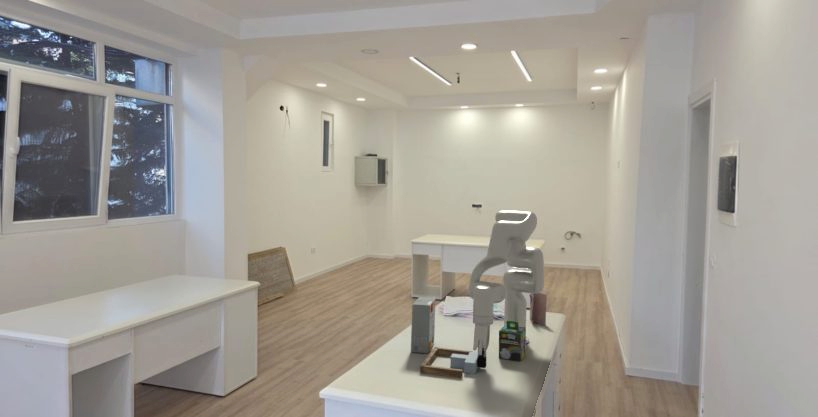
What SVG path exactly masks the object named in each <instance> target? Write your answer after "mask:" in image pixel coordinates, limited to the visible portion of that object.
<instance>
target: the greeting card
mask: <svg viewBox="0 0 818 417" xmlns="http://www.w3.org/2000/svg"><path fill="white" fill-rule="evenodd" d="M528 295H529V298H530V300H529V321H530V323H531V325H532V326H534V323H533V322H536V323H538V322H539V324H542V325H544V326H546V322H547V320H546V319H547V318H546V317H547V294H544V293H542V292H541V293H539V294H533V293H528ZM533 320H534V321H533Z"/></svg>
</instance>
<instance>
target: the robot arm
mask: <svg viewBox="0 0 818 417" xmlns="http://www.w3.org/2000/svg"><path fill="white" fill-rule="evenodd" d="M494 219H495V223H494V224H493V226H492V229H491V235H490V238H489V244H488V249H487V254H486V255H485V257H483V258H482V259H481V260H480V261H479V262H478V263H477V264H476V265H475V267H474V268H473V270H472V273H471V275H470V280H469V284H468V295H469V297H470V298H471V299H472V300H473V302H472V303H473V304H472V305H473V307H472V324H474V331H473V348H472V349H473V352H476V350H477V353H478V357H477V367H478V368H480V369H486V368H487V350H488V349H489V346H490V335H491V334H490V333H491V332H490V331H491V325H493V324H494V304H498V303H501V302H503V301H504V314H503V316H504V318H503V319H504V321H503V322H504V323H503V327H504V326H505V325H507V321H514V322H518V327H526V328H527V307H528V306H527V304H528V302H527V300H526V297H525V295H524V293H525V294H530V293H533V294H539V293H541V294H542V292H543V291H544V286H545V270H544V269H545V268H544V267H545V266H544V262H545V261H544V254H543V251H542V250H541V249H540V248H538V247H533V246H532V247H530V246H527V245H526V242H528V240H529V239H530V238H531V236H532V234H533V233H534V231H535V230H536V228H537V224H538V217H537V214H536V213H534V212H532V211H525V210H524V211H523V210H512V209H511V210H507V209H506V210H505V209H504V210H499V211H498V212H496V214H495V218H494ZM505 263H506V264H507V266H509V267H511V268H514V269H508V270H506V271H505V272H504V274H503V277H502V278H503V279H502V280H503V283H502V284H501V283H499V282H491V281H483V280H481V277H483V276H482V275H483V274H485V272H487V271H489V270H490V269H492V268H495V267H497V266H500V265H502V264H505ZM523 269H524V270H523ZM510 326H515V325H514V324H510ZM529 342H530V338H529V337H528V336H526V344H528V343H529Z"/></svg>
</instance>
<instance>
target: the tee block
mask: <svg viewBox="0 0 818 417" xmlns="http://www.w3.org/2000/svg"><path fill="white" fill-rule="evenodd" d="M477 357H478V352H476V351H473V352H470V353H469V354H468V355H462V354H452V355H451V356H450V363H449V364H450V368H452V369H461V370H464V371H463V374H464V373H465V374H472V375H475V374H476V373H477V371H478V368H479V367H477Z"/></svg>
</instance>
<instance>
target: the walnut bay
mask: <svg viewBox="0 0 818 417" xmlns="http://www.w3.org/2000/svg"><path fill="white" fill-rule="evenodd" d="M470 352H474V350H473V351H472V350H463V349H455V348H447V347H444V348H443V347H437V346H434V348H433V349H432V350H431V351H430V352H429V353H428V355H427V357H426V358H425V359H424V360H423V362H422V363H421V365H420V366H419V373H420V374H425V375H426V374H428V375H433V376H434V375H435V376H442V377H450V378H458V379H462V378H463V377H464V376H463V375H464V371H463V370H464V369H462V368H453V367H450V368H449V367H444V366H437V365H436V366H435V365H431V364H432V363H433V362H434V360H436V358H437V356H447V357H451V355H452V354H462V355H468V354H469V353H470Z"/></svg>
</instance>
